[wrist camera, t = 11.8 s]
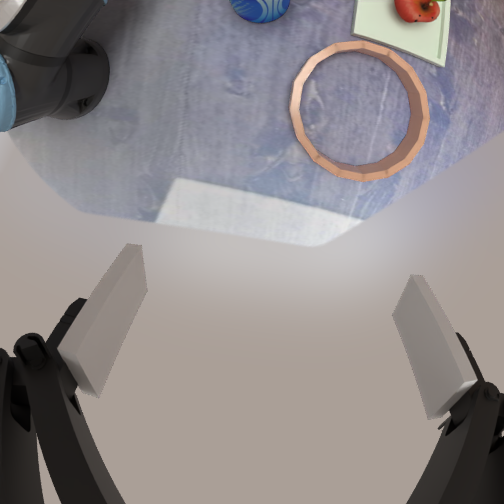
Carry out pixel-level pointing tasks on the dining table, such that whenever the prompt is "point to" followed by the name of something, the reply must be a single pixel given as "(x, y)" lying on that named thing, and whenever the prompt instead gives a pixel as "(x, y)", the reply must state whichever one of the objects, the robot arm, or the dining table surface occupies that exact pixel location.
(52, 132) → the dining table surface
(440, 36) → the tray
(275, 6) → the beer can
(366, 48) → the ring band
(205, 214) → the dining table surface
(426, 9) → the apple
